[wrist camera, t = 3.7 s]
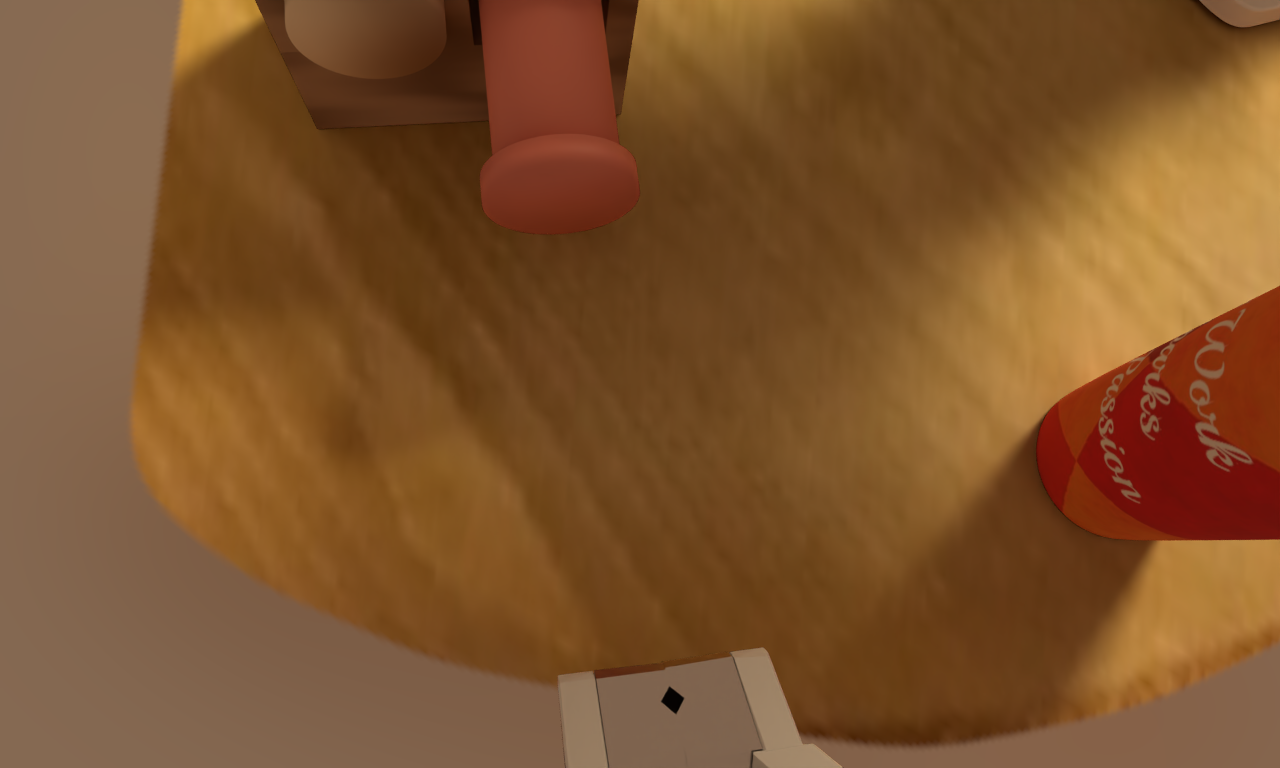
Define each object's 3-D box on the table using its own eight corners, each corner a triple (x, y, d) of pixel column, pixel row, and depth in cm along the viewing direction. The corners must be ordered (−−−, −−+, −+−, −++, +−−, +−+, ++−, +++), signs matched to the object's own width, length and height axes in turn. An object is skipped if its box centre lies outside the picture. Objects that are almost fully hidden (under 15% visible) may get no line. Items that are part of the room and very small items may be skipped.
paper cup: (1071, 319, 32) (1460, 112, 18) (1242, 445, 31) (1772, 329, 18) (965, 481, 30) (1316, 384, 16) (1146, 619, 29) (1663, 637, 16)
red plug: (594, -61, 28) (603, -177, 24) (631, 229, 26) (648, 157, 22) (462, -59, 28) (447, -177, 24) (487, 238, 25) (475, 167, 21)
